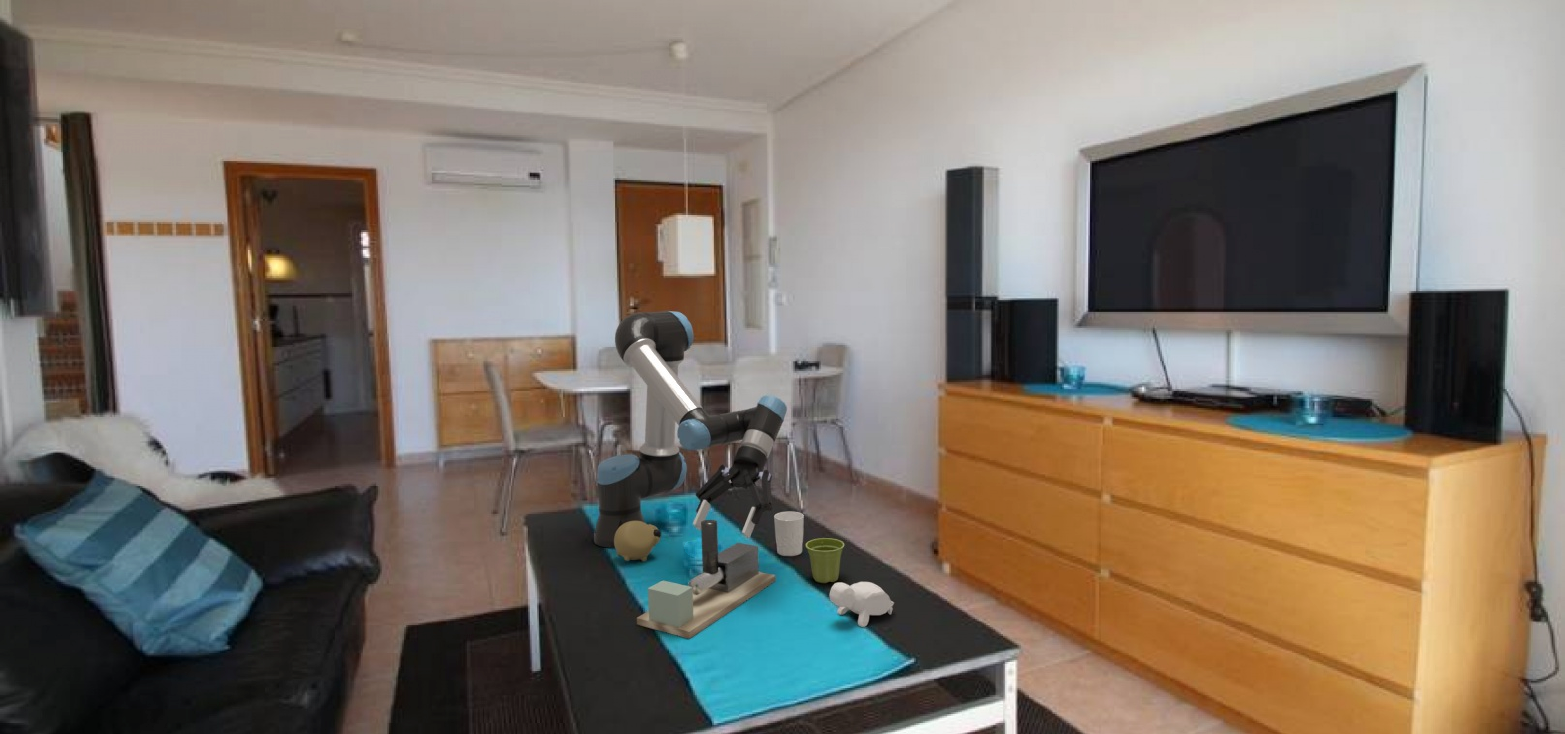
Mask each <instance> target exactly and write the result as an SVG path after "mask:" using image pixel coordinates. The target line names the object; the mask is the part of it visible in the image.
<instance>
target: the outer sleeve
mask: <svg viewBox="0 0 1565 734" xmlns="http://www.w3.org/2000/svg"><path fill="white" fill-rule="evenodd" d="M718 564H719V565H724V566H725V568H726V578H725V579H723V580H722V581H720V582H718V583H717V584H715V585H713V586H712V587H710V589H714V590H718V591H723V592H727V593H729V592H730V591H732V590H734V589H735V588H737V587H738V586H740V585H742V584H743V583H745V582H746V581H748V580H749V579H751V578H753V577H754V576H756V575H757V574H759V572H760V571H759V570H760V569H759V568H760V567H759V566H760V563H759V545H753V544H748V543H742V542H736V543H734V544H732V545H730V546H729V547H728V548H726V549H724V550H722V551H720V552H718Z"/></svg>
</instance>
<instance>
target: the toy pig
mask: <svg viewBox="0 0 1565 734" xmlns="http://www.w3.org/2000/svg"><path fill="white" fill-rule="evenodd" d="M644 522H645V521H644ZM644 522H642V521H629V522H626V523H624V524H623V525H621V526H620V527H619V528H618V529H617V531H616V533H615V537H614V546H615V551H616V555H617V556H618V557H622V558H623V559H624V561H626V562H630V560H631V561H632V560H633V561H637V560H638V561H639V560H640V561H641V562H643V563H644V562H646V561H647V558H648V556H649V554H650V553H651V552H652V550H653V548H654V547H655V546H657V545H658V543H659V542H660V540H661V537H662V532H661V531H660V530H659V529H658V527H657V526H656V525H654V524H651V523H648V524H647V523H646V522H645V523H644Z"/></svg>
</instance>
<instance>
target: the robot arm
mask: <svg viewBox="0 0 1565 734" xmlns="http://www.w3.org/2000/svg"><path fill="white" fill-rule="evenodd" d="M693 343H694V329H693V325H692V324H691V322H690V321H689V319H688V317H687V316H686V315H685V314H683V313H681V311H670V310H662V311H652V312H651V311H650V312H635V313H632V314H629V315H627V316H626V317H624V318H623V319H622V320H621V321H620V322H619V325H617V328H616V330H615V335H614V345H615V349H616V352H617V354H618V355H619V357H620V359H621V360H622V362H623V363H624V364H625V365H626V366H628V367H630V368H633V369H634V371H635V372H636V373H637V374H638V376H639V377H640V378H641V379H642V380H643V382H644V383H645V385H646V405H645V406H646V407H645V433H644V434H645V436H644V443H643V444H642V445H640V446H639V448H638V449H639V452H638V456H637V455H636V454H632V453H631V454H630V453H629V454H621V455H620V454H619V455H614V456H611V457H608V458H606V459H604V460H602V461H601V462H600V463H599V465H598V466H597V474H596V483H597V493H598V494H597V495H598V518H597V521H596V525H595V530H594V532H593V542H594V544H595V545H597V546H599V547H602V548H612V549H614V548H615V546H614V537H615V533H616V531H617V529H618V528H619V527H620V526H621V525H623V524H624V523H626V522H629V521H642V522H644V523H646V522H645V519H644V516H643V513H642V509H641V507H642V505H641V504H642V503H641V499H644V498H649V497H653V496H656V495H661V494H666V493H667V494H668V493H670V492H671V491H673V490H677V489H678V488H679V487H681V486H682V485H683V483H684V482H685V479H686V476H687V472H688V471H687V469H688V467H687V462H686V461H685V459H686V458H685V457H684V455H683V454H682V453H681V452H680V447H679V446H677V445H676V444H675V443H676V442H675V439H676V437H675V436H676V434H677V439H679V444H680V446H681V447H682V448H683V449H684V450H687V451H696V450H697V451H698V450H705V449H707V448H712V447H715V446H720V445H725V444H729V443H734V442H740V441H741V442H740V444H739V448H738V449H737V451H736V454H735V456H734V458H733V463H732V465H731V467H727V466H726V465H724V464H721V465H720V466H719V467H718V469H717V471H716V472H715V473H714V474H713V475H712V476H711V477H710V478H709V479H708V481H707V482H705V483H704V484H703V485H702V486H701V487H700V488H699V489H698V490H697V492H696V493H695V496H696V498H698V500H699V503H698V505H697V508H696V511H695V513H696V516H695V518H694V519H693V523H692V525H693V527H695V529H697V531H701V522H702V521H704V520H707V519H706V518H707V516H708V514H709V512H710V509H711V506H712V505H711V504H710V503H712V502H714V500H716V499H718V498H719V497H720V496H721V495H722V494H724V493H726V492H727V491H728V490H732V489H733V488H736V489H737V488H743V489H745V490H747V489H748V488H749V492H750V494H751V497H752V500H753V501H754V506H751V508H750V511H749V513H748V516H747V518H746V521H745V524H744V526H743V528H742V531H741V533H742V535H743V536H744V537H745V538H746V539H751V535H752V534H753V531H754V528H755V526H756V525H758V524H759V523H760V520H761V518H762V515H763V513H764V512H766V511H768V512H772V511H773V500H772V499H773V497H772V489H771V482H772V478H773V476H772V474H771V473H770V471H769V470H768V469H765V467H766V464H767V462H768V458H769V456H770V454H771V451H772V449H773V447H774V445H775V441H776V439H777V437H778V434H779V432H780V430H781V427H782V425H783V423H784V421H785V417H786V414H787V410H788V408H787V405H786V403H785V402H784V401H783V400H782V399H781V398H779V397H778V396H775V395H768V394H766V395H762V397H760V399H759V401H758V402H757V404H756V406H755V407H750V408H747V409H741V410H736V411H731V412H726V413H720V414H714V415H709V414H708V413H707V411H706V410H705V409H704V408H703V406H702V405H701V404H700V403H699V401H697V399H696V398H695V397H694V396H693V394H692V393H691V392H690V390H689V389H688V388H687V387H686V386H685V384H684V383H683V382H682V380H681V379H680V378H679V375H678V374H679V365H680V364H681V363H682V362H683V361H684V357H685V352H687V351H688V350H689V349H690V348H691V346H693ZM676 424H677V425H678V427H677V433H676ZM759 480H761V490H762V498H761V496H760V495H761V494H759V493H760V492H759V491H758V487H757V484H756V482H758V481H759Z"/></svg>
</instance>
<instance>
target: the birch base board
mask: <svg viewBox="0 0 1565 734" xmlns="http://www.w3.org/2000/svg"><path fill="white" fill-rule="evenodd" d="M775 582H776V575H775V574H771V573H766V572H763V571H762V572H761V571H759V574H757V575H756V576H754V577H753V578H751V579H749V580H748V581H746V582H745V583H743V584H742V585H740V586H738V587H737V588H735V589H734V590H732V591H730V592H729V593H727V592H723V591H718V590H714V589H710V588H708V589H707V590H705V591H703V592H702V593H700V594H698V595H694V594H693V618H694V619H692V620H690V621H689V622H687V623H686V624H684V625H683V626H681V627H679V628H678V627H674V626H671V625H667V624H663V623H659V622H656V621H652V620H649V610H647V611H646V612H644V613H642V614H641V615H639V616H638V617H636V625H637V626H641V627H645V628H649V629H651V630H657V631H659V632H660V631H661V632H663V633H666V632H667V634H671V635H674V636H677V635H678V637H682V638H684V639H685V638H686V639H687V640H688V639H689V640H690V639H691V638H693V637H694V636H696V635H697V634H699V633H701V632H702V631H703V630H705V629H706V628H708V627H709V626H711V625H712V624H714V623H715V622H717V621H718V620H720V619H721V618H723V617H724V616H726V615H728V614H729V613H730V612H732V611H733V610H735V609H736V608H738V607H739V606H741V605H742V604H743V602H744V603H745V602H747V601H748V600H750V599H751V598H752V597H754V596H756V595H757V594H759V593H760V592H762V591H763V590H765V589H766V588H767V586H768V587H769V586H770V585H772V584H773V583H775ZM771 583H772V584H771ZM764 588H765V589H764ZM761 590H762V591H761ZM749 598H750V599H749ZM746 600H747V601H746Z"/></svg>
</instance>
